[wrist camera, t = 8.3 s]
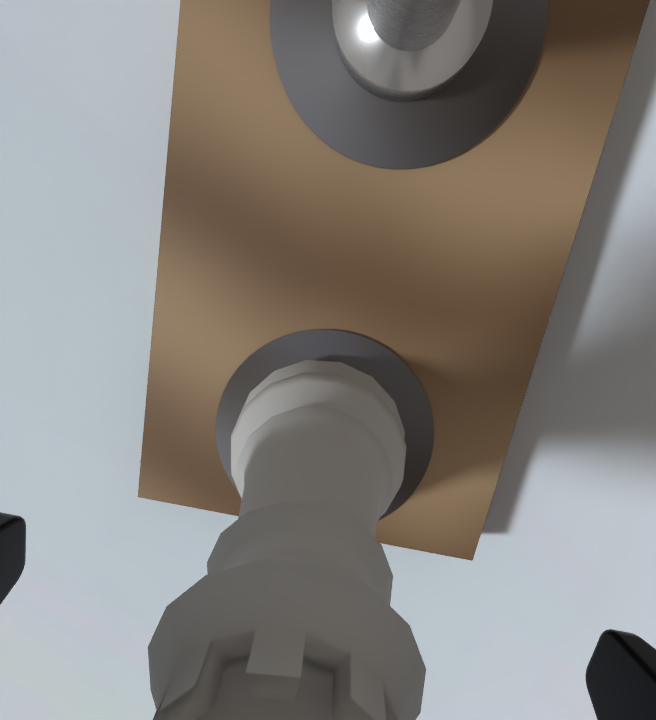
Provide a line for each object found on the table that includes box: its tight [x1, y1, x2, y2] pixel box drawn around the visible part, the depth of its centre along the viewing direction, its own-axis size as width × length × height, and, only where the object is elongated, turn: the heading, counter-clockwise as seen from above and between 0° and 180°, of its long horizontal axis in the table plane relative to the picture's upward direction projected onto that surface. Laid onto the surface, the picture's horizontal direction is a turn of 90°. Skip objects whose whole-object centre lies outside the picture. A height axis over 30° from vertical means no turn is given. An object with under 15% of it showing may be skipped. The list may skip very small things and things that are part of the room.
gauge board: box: [138, 0, 650, 560], centre depth 11 cm, size 16×10×1 cm, turn 169°
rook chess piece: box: [148, 360, 426, 720], centre depth 8 cm, size 4×4×8 cm
